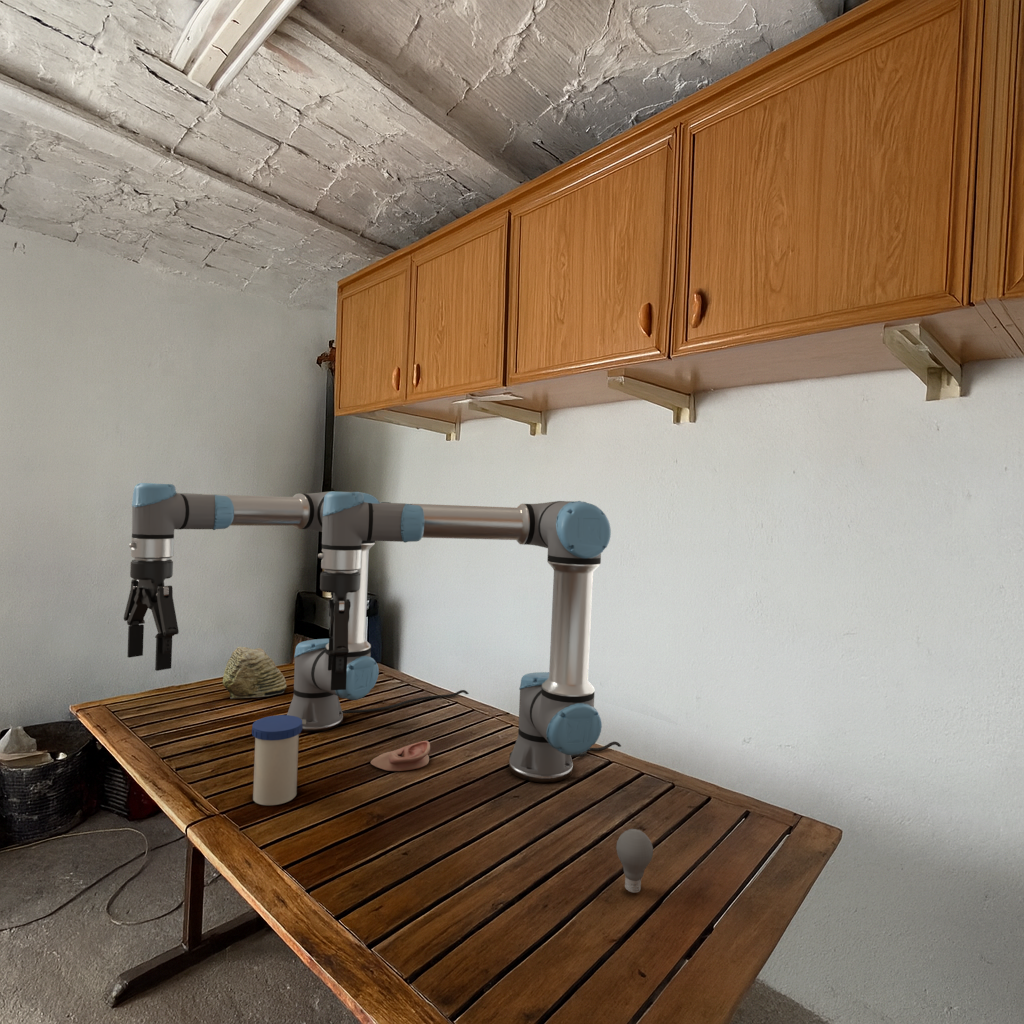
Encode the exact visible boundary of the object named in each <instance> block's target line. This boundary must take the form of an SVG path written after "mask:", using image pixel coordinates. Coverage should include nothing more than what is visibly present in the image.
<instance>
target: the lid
mask: <svg viewBox="0 0 1024 1024" xmlns="http://www.w3.org/2000/svg"><path fill="white" fill-rule="evenodd" d="M302 728H303V724H302V720H301V719H300V718H298V717H296V716H290V715H287V714H278V715H277V714H276V715H269V716H265V717H261V718H259V719H257V720H255V721H253V723H252V727H251V734H252V737H254V739H255V738H258V739H261V740H282V739H287V738H291V737H294V736H296V735H298V734H299V735H300V734H301V733H302V732H301V731H302Z"/></svg>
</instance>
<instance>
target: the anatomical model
mask: <svg viewBox="0 0 1024 1024" xmlns="http://www.w3.org/2000/svg"><path fill="white" fill-rule="evenodd" d="M430 751H431V743H430V742H429V741H428V740H423V741H417V742H415V743H412V744H408V745H405V746H403V747H399V748H398V749H394V750H391V751H387V752H384V753H381V754H380V755H377V756H376V757H374V758H373V759H371V761H370V764H371V765H372V766H373V767H375V768H378V769H380V770H383V771H387V772H400V771H401V772H402V771H411V770H415V769H421V768H423V767H425V766H427V765H428V764H429V761H430V757H429V755H428V754H429V753H430Z"/></svg>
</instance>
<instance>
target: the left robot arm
mask: <svg viewBox="0 0 1024 1024" xmlns="http://www.w3.org/2000/svg"><path fill="white" fill-rule="evenodd" d="M331 491H332V490H330V491H321V492H311V493H295V494H294V495H293V496H276V495H275V496H274V495H273V496H272V495H248V494H247V495H246V494H244V495H243V494H220V493H219V494H218V493H217V494H216V493H215V494H214V493H189V492H187V493H186V492H177V491H176V486H175V485H174V484H173V483H152V482H139V483H137V484H136V485H135V486H134V488H133V492H132V501H131V520H132V521H131V542H130V543H128V547H129V548H130V549H131V550H130V556H131V558H133V559H132V560H131V561H130V567H129V568H130V571H129V574H130V575H129V576H130V578H131V581H130V590H129V594H128V598H127V603H126V607H125V610H124V615H123V621H124V622H126V624H127V626H128V629H127V630H128V631H127V658H135V657H142V656H144V635H145V634H144V630H145V625H144V624H145V623H146V621H145V619H144V618H145V616H146V615H147V612H148V609H149V610H151V613H152V618H153V620H154V624H155V627H156V631H157V633H156V635H155V636H154V638H155V661H154V663H155V665H154V668H155V669H154V670H155V671H157V672H159V671H164V670H169V669H172V659H173V657H172V655H173V637H175V636H176V635H179V632H180V631H179V625H178V619H177V615H176V614H177V613H176V609H175V603H174V597H173V595H174V593H173V585H165V580H167V579H171V578H172V577H173V575H174V573H173V572H174V561H173V560H172V559H171V558H173V557H174V554H175V553H174V552H175V530H213V531H215V530H224V529H228V528H230V526H233V527H234V526H237V527H238V526H240V527H243V526H246V527H247V526H249V527H250V526H258V527H259V526H268V527H269V526H276V527H277V526H282V527H284V526H285V527H286V526H287V527H288V526H289V527H290V526H291V527H293V528H294V529H296V530H308V531H309V530H310V531H316V532H319V533H322V519H323V506H324V497H325V495H326V494H327V493H328V492H331ZM333 492H339V491H337V490H336V491H335V490H333ZM354 492H355V493H362V494H363V499H364V502H367V503H377V504H378V503H381V502H380V501H379V500H378V498H377V497H375V495H373V494H370V493H367V492H363V491H362V492H361V491H354ZM375 544H376V541H366V540H363V541H362V543H361V549H362V554H361V568H360V569H359V570H358V572H359V573H360V589H359V590H358V591H357V592H352V593H351V592H349V593H347V599H349V601H350V604H351V606H350V611H349V622H348V649H349V652H348V654H347V677H346V690H331V670H328V654H329V638H317V639H308V640H304V641H300V642H299V643H297V645H296V646H295V650H294V655H293V657H294V672H293V673H294V674H293V695H292V696H293V697H292V699H291V702H290V704H289V708H288V711H287V713H286V715H290V716H296V717H298V718H300V719H301V720H302V724H303V728H302V731H301V733H316V732H325V731H329V730H332V729H335V728H337V727H339V726H340V725H342V723H343V722H344V715H345V714H362V713H363V714H364V713H371V712H379V711H384V710H389V709H393V708H398V707H400V706H403V705H406V704H409V703H415V702H418V701H424V700H431V699H441V698H450V697H455V696H458V695H460V694H462V693H464V695H469V692H468V691H467V690H465V689H460V690H458V691H456V692H455V693H447V694H435V695H427V696H421V697H415V698H412V699H407V700H404V701H400V702H398V703H395V704H391V705H386V706H381V707H374V708H366V709H350V710H349V709H348V710H343V709H342V706H341V702H340V699H339V698H341V699H342V700H343V699H344V700H348V701H349V700H350V701H357V700H360V699H362V698H364V697H365V696H367V695H368V694H370V692H371V690H372V689H374V687H375V685H376V683H377V682H378V678H379V674H380V672H379V671H380V670H379V669H380V668H379V665H378V663H377V662H376V660H375V659H374V657H371V652H372V649H371V648H372V644H371V643H370V642H368V640H367V639H366V631H367V607H368V606H367V605H368V604H367V602H368V582H369V581H368V579H369V555H370V553H369V552H370V550H371V548H372V547H374V545H375Z"/></svg>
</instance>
